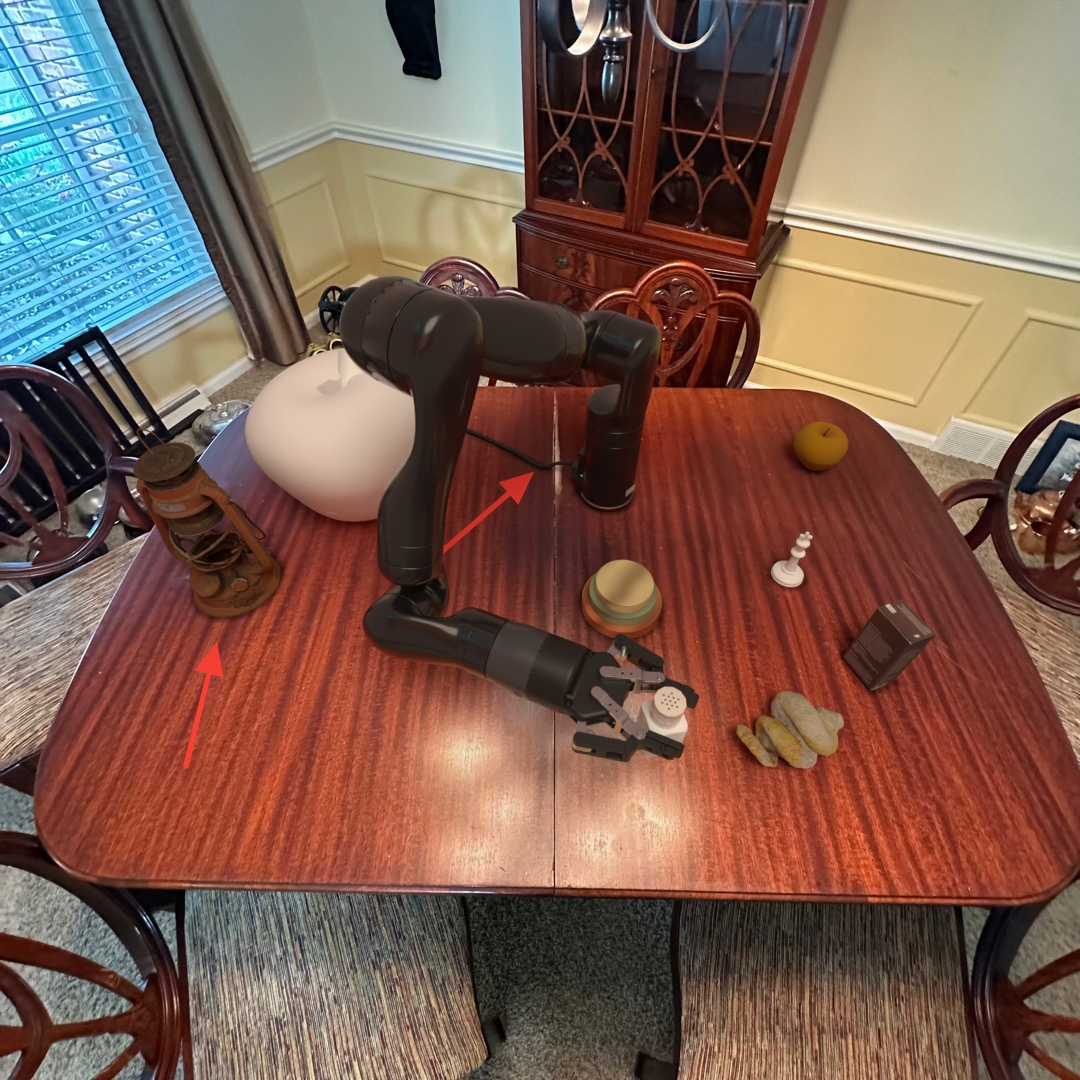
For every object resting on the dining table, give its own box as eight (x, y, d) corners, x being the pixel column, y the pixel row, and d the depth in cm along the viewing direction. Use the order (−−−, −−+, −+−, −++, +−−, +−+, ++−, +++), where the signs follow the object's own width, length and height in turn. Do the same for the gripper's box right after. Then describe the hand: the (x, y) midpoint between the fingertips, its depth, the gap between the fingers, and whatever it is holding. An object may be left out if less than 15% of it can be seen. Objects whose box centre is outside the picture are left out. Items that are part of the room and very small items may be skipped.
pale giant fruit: (373, 582, 95) (332, 464, 76) (251, 519, 103) (188, 400, 85) (472, 477, 111) (459, 358, 92) (359, 430, 119) (326, 314, 101)
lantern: (164, 609, 91) (41, 459, 69) (209, 545, 100) (113, 393, 77) (269, 625, 89) (177, 476, 67) (305, 558, 98) (235, 406, 75)
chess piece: (804, 589, 94) (827, 548, 86) (771, 584, 94) (791, 542, 87) (801, 565, 97) (823, 523, 89) (770, 560, 97) (789, 518, 90)
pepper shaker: (666, 718, 68) (682, 678, 60) (679, 753, 65) (697, 715, 58) (632, 726, 67) (644, 686, 60) (644, 761, 64) (657, 724, 57)
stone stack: (879, 748, 71) (756, 753, 70) (859, 774, 75) (743, 779, 74) (841, 679, 78) (730, 682, 77) (825, 706, 82) (719, 709, 81)
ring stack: (566, 614, 91) (567, 590, 86) (606, 563, 97) (609, 538, 93) (637, 653, 86) (642, 630, 82) (673, 597, 93) (680, 573, 88)
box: (895, 681, 83) (938, 634, 74) (868, 691, 82) (909, 645, 73) (865, 646, 87) (903, 597, 78) (839, 655, 86) (875, 607, 77)
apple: (776, 464, 113) (791, 425, 106) (802, 443, 117) (818, 405, 110) (819, 488, 108) (838, 450, 102) (845, 466, 112) (864, 428, 106)
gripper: (506, 706, 58) (677, 779, 54) (563, 595, 67) (715, 650, 62) (509, 737, 64) (664, 805, 59) (561, 631, 72) (700, 684, 68)
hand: (689, 725), depth 61 cm, fingers closed on pepper shaker, 5 cm apart
